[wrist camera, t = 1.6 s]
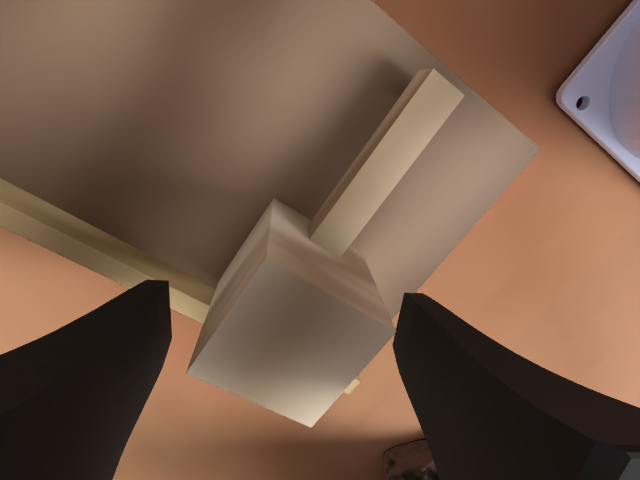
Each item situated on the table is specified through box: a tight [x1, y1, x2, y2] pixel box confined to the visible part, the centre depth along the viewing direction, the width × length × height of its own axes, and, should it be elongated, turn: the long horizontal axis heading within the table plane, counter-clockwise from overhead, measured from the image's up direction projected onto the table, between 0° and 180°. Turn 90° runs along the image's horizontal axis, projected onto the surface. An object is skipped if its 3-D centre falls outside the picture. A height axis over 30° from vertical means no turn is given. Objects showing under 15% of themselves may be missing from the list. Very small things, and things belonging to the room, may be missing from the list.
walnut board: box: [0, 0, 541, 394], centre depth 12 cm, size 22×12×4 cm, turn 55°
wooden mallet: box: [186, 68, 465, 427], centre depth 11 cm, size 4×10×5 cm, turn 145°
